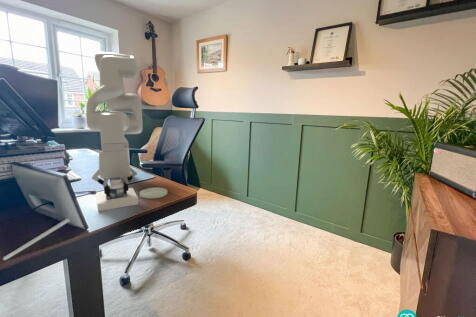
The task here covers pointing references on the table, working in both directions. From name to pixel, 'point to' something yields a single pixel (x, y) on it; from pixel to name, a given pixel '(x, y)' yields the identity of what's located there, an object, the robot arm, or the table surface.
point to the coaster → (153, 193)
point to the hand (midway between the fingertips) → (116, 193)
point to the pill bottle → (116, 188)
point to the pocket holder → (116, 200)
